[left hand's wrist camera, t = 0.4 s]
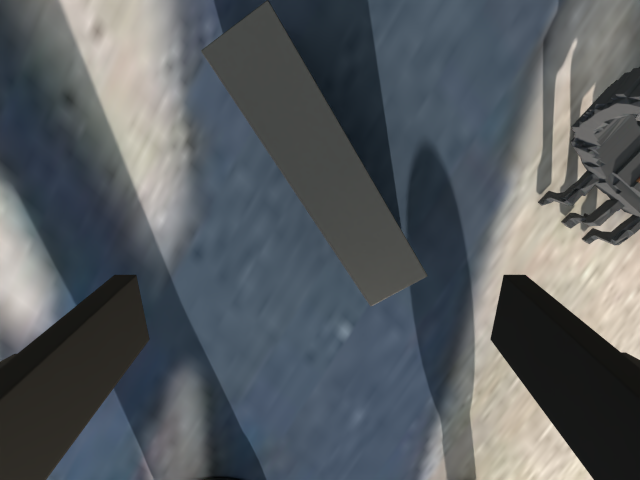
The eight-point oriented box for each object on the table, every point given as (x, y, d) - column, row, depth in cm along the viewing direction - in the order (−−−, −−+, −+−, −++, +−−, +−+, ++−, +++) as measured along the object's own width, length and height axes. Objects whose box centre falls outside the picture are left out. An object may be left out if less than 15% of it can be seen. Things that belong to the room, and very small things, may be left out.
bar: (403, 239, 37) (427, 276, 28) (359, 264, 38) (370, 306, 29) (281, 30, 30) (267, -1, 22) (231, 66, 31) (200, 50, 23)
